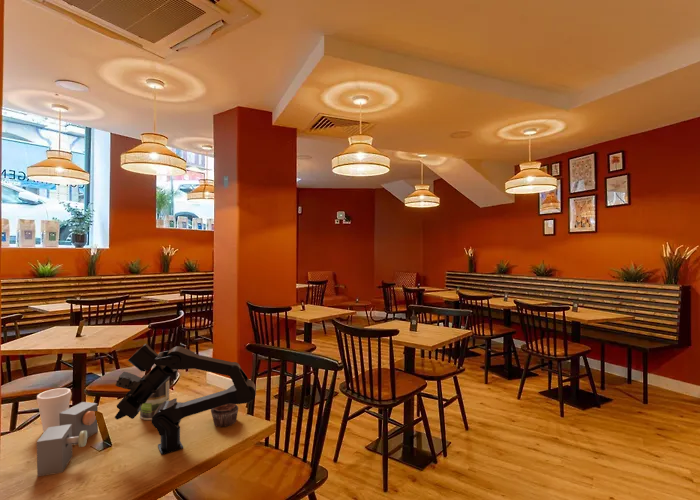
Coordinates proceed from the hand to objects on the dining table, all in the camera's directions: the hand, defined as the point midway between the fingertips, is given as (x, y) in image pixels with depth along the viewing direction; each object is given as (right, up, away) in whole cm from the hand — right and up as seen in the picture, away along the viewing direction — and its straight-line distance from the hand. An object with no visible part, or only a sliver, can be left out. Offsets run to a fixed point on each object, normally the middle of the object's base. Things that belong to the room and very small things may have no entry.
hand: (116, 418), depth 125 cm
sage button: (-10, -6, -5) cm, 13 cm away
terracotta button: (-17, -6, +10) cm, 20 cm away
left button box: (-14, -11, -7) cm, 19 cm away
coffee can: (-1, -10, +28) cm, 30 cm away
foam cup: (-30, -11, +15) cm, 35 cm away
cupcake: (+27, -11, +22) cm, 37 cm away
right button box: (-18, -11, +10) cm, 23 cm away
